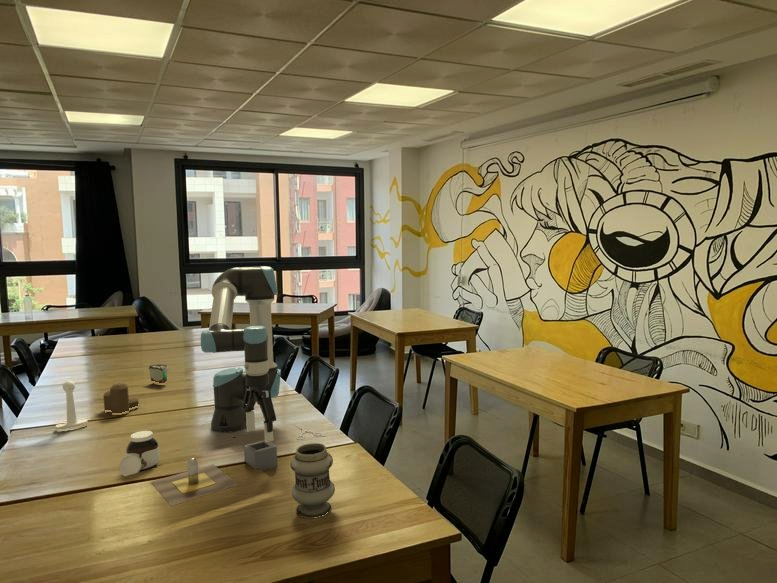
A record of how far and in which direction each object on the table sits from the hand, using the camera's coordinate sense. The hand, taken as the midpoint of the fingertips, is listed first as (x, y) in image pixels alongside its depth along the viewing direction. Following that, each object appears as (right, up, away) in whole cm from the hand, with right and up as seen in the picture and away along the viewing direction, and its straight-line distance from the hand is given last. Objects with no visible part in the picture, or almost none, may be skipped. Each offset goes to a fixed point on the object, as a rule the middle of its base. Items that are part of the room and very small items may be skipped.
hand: (259, 435), depth 181 cm
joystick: (-87, -8, +42) cm, 97 cm away
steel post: (-17, -11, -14) cm, 25 cm away
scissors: (+10, -8, +34) cm, 36 cm away
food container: (-77, -1, +107) cm, 132 cm away
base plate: (-17, -13, -14) cm, 25 cm away
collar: (0, -11, +2) cm, 11 cm away
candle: (-77, -6, +62) cm, 99 cm away
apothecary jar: (+22, -14, -28) cm, 38 cm away
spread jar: (-40, -12, 0) cm, 41 cm away
